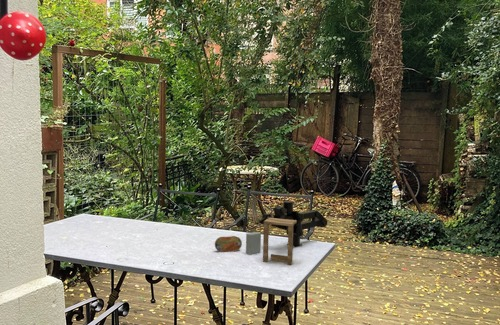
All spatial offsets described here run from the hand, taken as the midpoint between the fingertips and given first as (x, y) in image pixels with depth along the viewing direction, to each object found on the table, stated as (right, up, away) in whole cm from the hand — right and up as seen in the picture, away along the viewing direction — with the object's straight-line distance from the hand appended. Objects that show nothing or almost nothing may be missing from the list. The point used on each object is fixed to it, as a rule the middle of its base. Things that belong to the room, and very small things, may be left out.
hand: (265, 223), depth 252 cm
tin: (-21, -16, +4) cm, 26 cm away
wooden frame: (+7, -18, -12) cm, 23 cm away
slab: (-7, -16, +1) cm, 18 cm away
